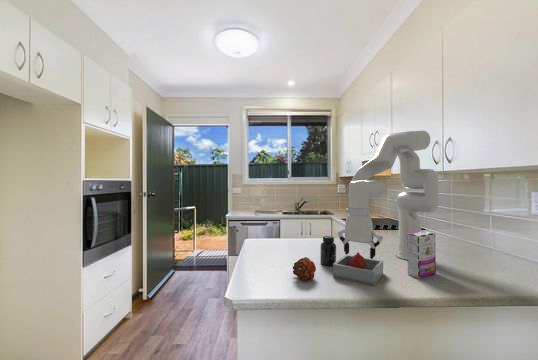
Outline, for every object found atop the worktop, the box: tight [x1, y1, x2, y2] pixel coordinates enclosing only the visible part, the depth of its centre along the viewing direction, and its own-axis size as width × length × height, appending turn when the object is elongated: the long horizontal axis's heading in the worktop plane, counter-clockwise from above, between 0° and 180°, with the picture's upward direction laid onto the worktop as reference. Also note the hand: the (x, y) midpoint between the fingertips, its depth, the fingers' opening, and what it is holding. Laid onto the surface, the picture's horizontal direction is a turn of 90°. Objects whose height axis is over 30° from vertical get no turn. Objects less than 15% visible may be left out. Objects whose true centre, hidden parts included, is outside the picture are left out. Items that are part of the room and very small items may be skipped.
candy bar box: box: [407, 230, 437, 279], centre depth 103 cm, size 11×5×16 cm, turn 117°
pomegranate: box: [350, 252, 366, 269], centre depth 102 cm, size 6×6×8 cm
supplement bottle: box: [319, 235, 337, 267], centre depth 115 cm, size 7×7×12 cm
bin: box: [332, 254, 384, 287], centre depth 102 cm, size 15×15×5 cm
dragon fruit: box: [292, 256, 317, 282], centre depth 99 cm, size 8×8×12 cm
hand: (359, 255), depth 102 cm, fingers open, 9 cm apart
